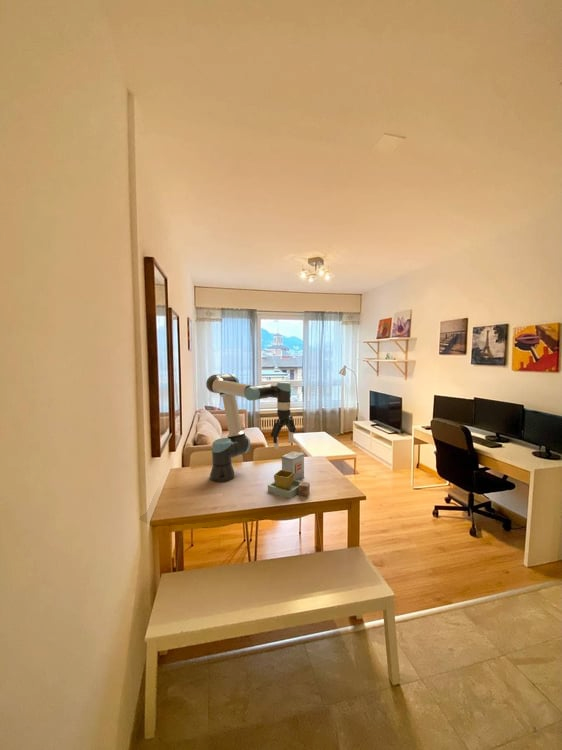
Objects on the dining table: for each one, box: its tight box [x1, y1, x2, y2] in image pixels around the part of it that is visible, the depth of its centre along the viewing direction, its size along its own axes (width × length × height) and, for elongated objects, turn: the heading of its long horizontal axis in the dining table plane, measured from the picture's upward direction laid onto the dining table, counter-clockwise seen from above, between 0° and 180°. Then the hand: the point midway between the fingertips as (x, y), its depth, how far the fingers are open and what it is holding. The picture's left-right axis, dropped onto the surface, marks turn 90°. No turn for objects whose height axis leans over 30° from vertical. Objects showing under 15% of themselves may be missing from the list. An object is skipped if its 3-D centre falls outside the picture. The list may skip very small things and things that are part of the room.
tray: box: [267, 479, 302, 500], centre depth 171 cm, size 15×15×4 cm
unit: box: [280, 450, 305, 481], centre depth 186 cm, size 9×13×15 cm
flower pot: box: [273, 469, 294, 491], centre depth 169 cm, size 9×9×9 cm
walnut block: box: [298, 481, 311, 498], centre depth 165 cm, size 5×5×6 cm
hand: (283, 445), depth 175 cm, fingers open, 13 cm apart
